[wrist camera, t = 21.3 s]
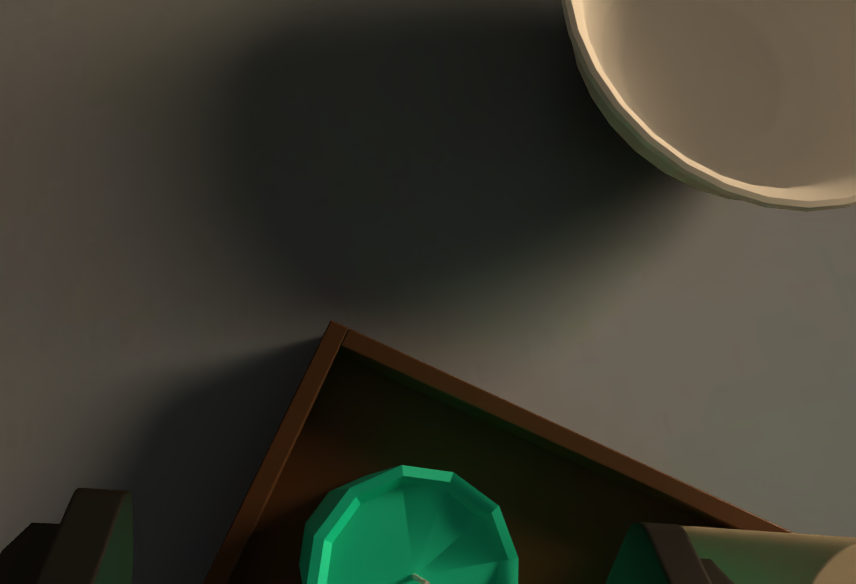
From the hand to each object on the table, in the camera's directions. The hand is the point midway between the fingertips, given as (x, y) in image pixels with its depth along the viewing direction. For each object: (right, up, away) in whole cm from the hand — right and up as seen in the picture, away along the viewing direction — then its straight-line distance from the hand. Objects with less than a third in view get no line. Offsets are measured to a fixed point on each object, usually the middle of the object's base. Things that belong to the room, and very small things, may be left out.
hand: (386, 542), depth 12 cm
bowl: (+15, +15, +28) cm, 35 cm away
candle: (-2, -6, +18) cm, 19 cm away
